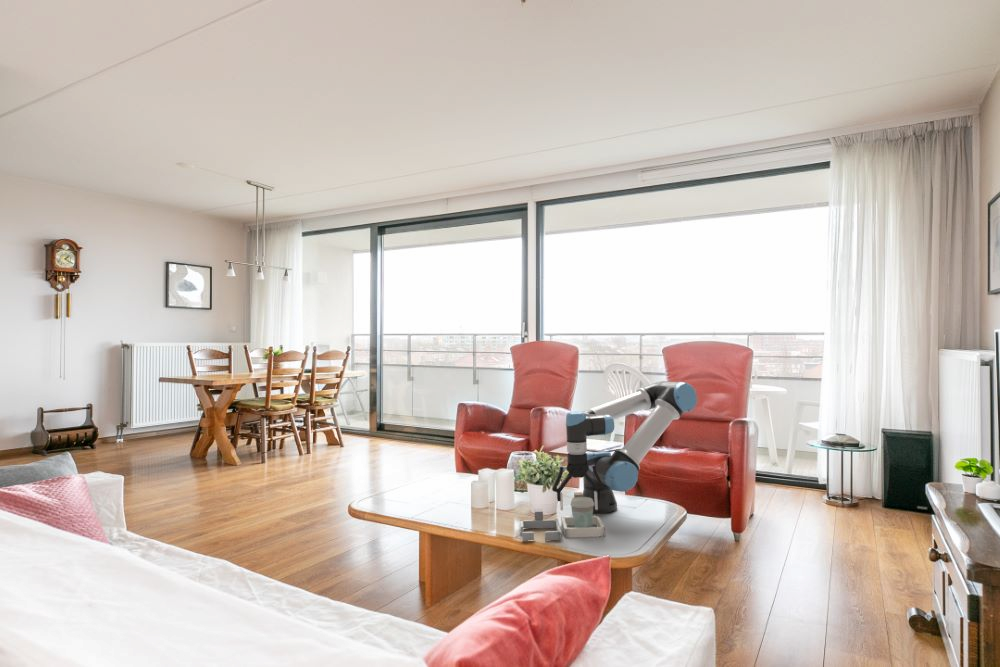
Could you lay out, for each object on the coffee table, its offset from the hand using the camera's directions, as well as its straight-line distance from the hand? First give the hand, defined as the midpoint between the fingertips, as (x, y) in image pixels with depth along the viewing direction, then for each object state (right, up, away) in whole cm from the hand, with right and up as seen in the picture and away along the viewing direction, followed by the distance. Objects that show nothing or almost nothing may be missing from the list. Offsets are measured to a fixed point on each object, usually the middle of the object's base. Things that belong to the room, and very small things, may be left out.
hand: (579, 509), depth 227 cm
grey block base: (-16, -5, -11) cm, 20 cm away
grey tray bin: (0, -5, -8) cm, 9 cm away
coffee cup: (0, -5, -13) cm, 13 cm away
